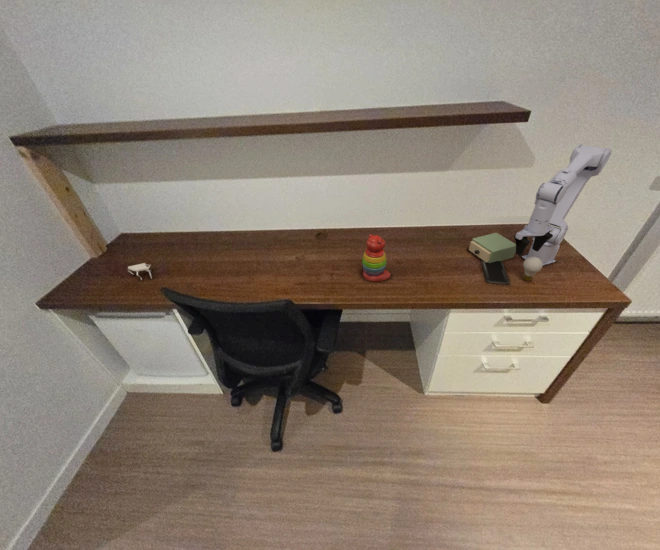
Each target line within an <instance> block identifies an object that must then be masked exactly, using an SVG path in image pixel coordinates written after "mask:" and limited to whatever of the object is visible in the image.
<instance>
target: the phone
mask: <svg viewBox="0 0 660 550" xmlns="http://www.w3.org/2000/svg"><path fill="white" fill-rule="evenodd" d="M481 266H482V270H483V274H484V278H485V281H486V283H487V284H493V285H494V284H496V285H506V286H508V285H509V283H510V279H509V277H508V274H507V272H506V271H507V270H506V268H505V265H504V262H503V261H495V262H492V263H488V262H485V261H483V260H482V259H481Z"/></svg>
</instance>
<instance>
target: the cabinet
mask: <svg viewBox="0 0 660 550" xmlns="http://www.w3.org/2000/svg"><path fill="white" fill-rule="evenodd" d="M471 239H472V240H471V241H474V242H476V243H478V244H479V245H481V246H482V247H484V248H485V249H487V250H488V251H490V252H491V255H490V258H489V261H488V263H492V262H495V261H502V262H503V261H506V260H509V259H513V258H515V256H516V255H515V254H516V242H513V241H512V240H510V239H508V238H507V237H505V236H503V235H501V234H500V233H498V232H493V233H489V234H486V235H481V236H477V237H473V238H471Z"/></svg>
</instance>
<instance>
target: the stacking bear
mask: <svg viewBox="0 0 660 550" xmlns="http://www.w3.org/2000/svg"><path fill="white" fill-rule="evenodd" d="M385 247H386V241H385V239H383V237H381V236H380V235H377V234H372V233H370V234H369V235H368V238H367V240H366V249H365V250H364V253H363V256H362V261H361V264H362V268H363V271H362V277H363V278H364V280H367V281H370V282H382V281H386V280H388V279H391V276H392V274H391V272H390V271H388V270H386V266H387V255H386V252H385V249H384V248H385Z"/></svg>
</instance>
